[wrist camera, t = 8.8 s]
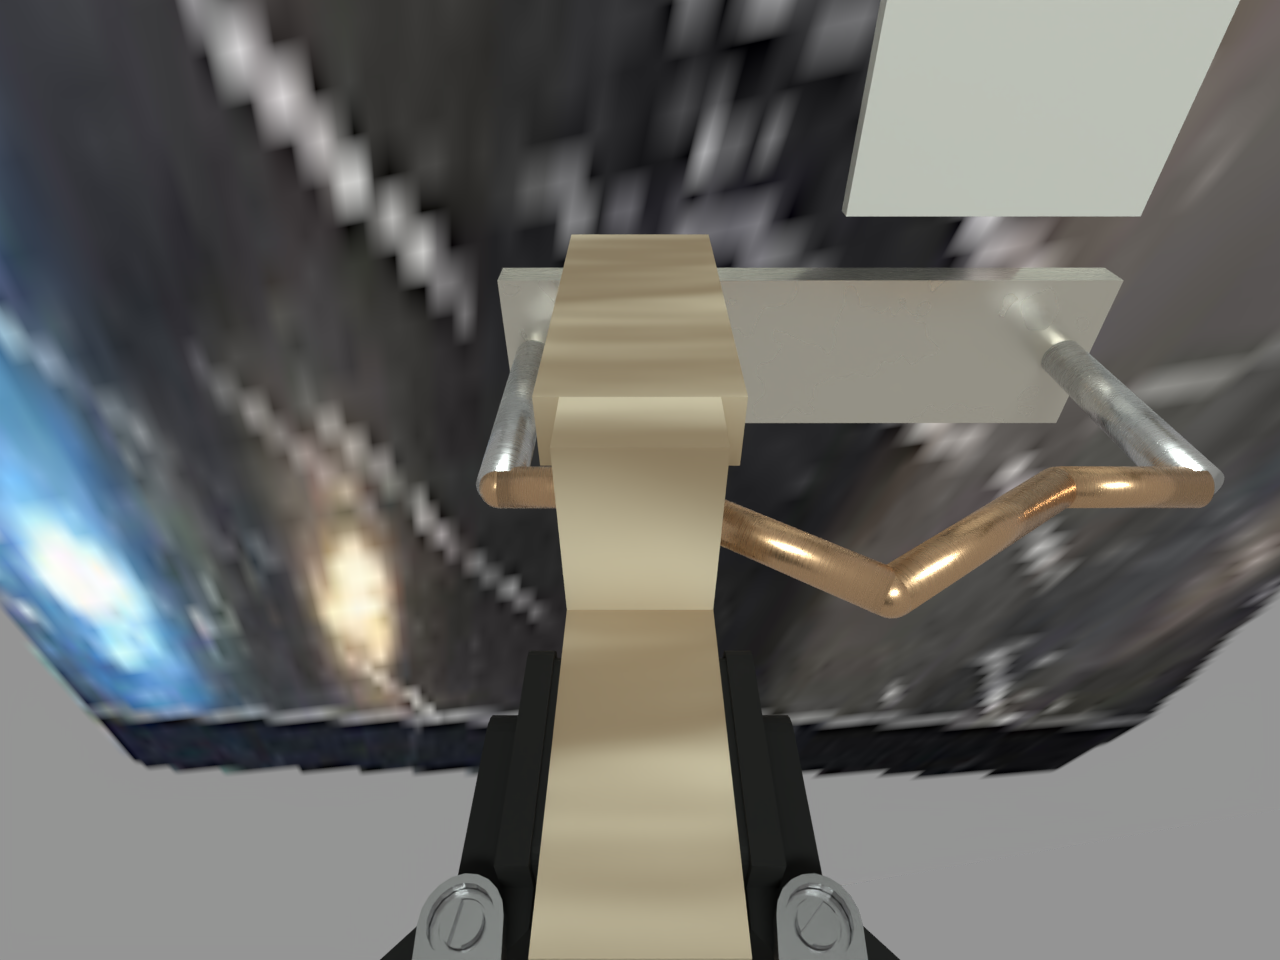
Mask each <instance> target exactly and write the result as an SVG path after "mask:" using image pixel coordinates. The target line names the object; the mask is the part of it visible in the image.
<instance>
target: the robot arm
mask: <svg viewBox="0 0 1280 960" xmlns="http://www.w3.org/2000/svg"><path fill="white" fill-rule="evenodd" d="M561 659H562V658H557V652H556V651H529V653H528V656H527V662H526V668H525V674H524V680H523V687H522V693H521V699H520V705H519V712H518V715H492V716H491V718H490V720H489V723H488V726H487V730H486V735H485V740H484V745H483V750H482V755H481V761H480V766H479V771H478V776H477V781H476V786H475V791H474V796H473V801H472V806H471V811H470V816H469V821H468V826H467V832H466V837H465V842H464V847H463V852H462V857H461V862H460V867H459V872H458V875H457V876H454V877H451V878H450V879H448V880H446V881H445V882H443V883H441V884H440V885H439V886H438V887H437V888H436V889H435V890H434V891H433V892H432V893H431V894H430V895H429V897H428V899H427V900H426V902H425V904H424V906H423V907H422V909H421V912H420V916H419V919H418V923H417V926H416V927H415V928H414V929H413V930H412V931H411V932H410V933H409V934H408V935H406V936H405V937H404V938H403V939H402V940H401V941H400V942H399V943H398V944H397V945H396V946H394V947H393V948H392V949H391V950H390V951H389V952H388V953H387V954H386V955H385V956H383V957H382V958H381V959H380V960H529V959H528V956H529V947H530V938H531V929H532V920H533V911H534V902H535V893H536V884H537V875H538V866H539V857H540V848H541V839H542V830H543V821H544V812H545V803H546V794H547V785H548V776H549V767H550V758H551V749H552V740H553V731H554V722H555V713H556V704H557V695H558V686H559V677H560V668H561ZM719 666H720V675H721V684H722V693H723V702H724V711H725V720H726V729H727V738H728V747H729V756H730V765H731V774H732V782H733V791H734V800H735V809H736V818H737V827H738V836H739V845H740V854H741V863H742V872H743V881H744V890H745V899H746V908H747V917H748V926H749V935H750V944H751V953H752V960H900V959H899V958H898V957H897V956H896V955H895V954H894V953H892V952H891V951H890V950H889V949H888V948H887V947H886V946H885V945H884V944H882V943H881V942H880V941H879V940H878V939H877V938H876V937H875V936H874V935H873V934H872V933H870V932H869V931H868V930H867V929H866V928H865V927H864V926H863V923H862V919H861V916H860V912H859V909H858V907H857V906H856V904H855V902H854V900H853V899H852V897H851V895H850V894H849V893H848V892H847V891H846V890H845V889H844V888H843V887H842V886H841V885H840V884H839V883H837V882H835V881H834V880H832V879H830V878H829V877H826V876H823V875H822V871H821V866H820V861H819V855H818V850H817V845H816V840H815V835H814V830H813V825H812V820H811V815H810V810H809V805H808V800H807V795H806V790H805V784H804V779H803V774H802V769H801V764H800V759H799V754H798V749H797V744H796V739H795V734H794V729H793V725H792V722H791V719H790V717H789V716H788V715H762V710H761V703H760V697H759V691H758V685H757V678H756V672H755V666H754V660H753V655H752V652H751V651H724V653H723V658H719Z"/></svg>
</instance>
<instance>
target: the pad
mask: <svg viewBox="0 0 1280 960" xmlns="http://www.w3.org/2000/svg"><path fill="white" fill-rule="evenodd" d="M1239 2H1240V0H881V2H880V7H879V12H878V18H877V23H876V29H875V34H874V39H873V45H872V50H871V56H870V61H869V66H868V72H867V77H866V83H865V88H864V93H863V99H862V104H861V110H860V115H859V121H858V126H857V131H856V137H855V142H854V148H853V153H852V158H851V164H850V169H849V175H848V180H847V185H846V191H845V196H844V202H843V207H842V212H843V213H844V215H845V216H1141V214H1142V212H1143V210H1144V208H1145V206H1146V203H1147V201H1148V199H1149V197H1150V195H1151V193H1152V190H1153V188H1154V186H1155V184H1156V182H1157V180H1158V177H1159V175H1160V173H1161V171H1162V169H1163V167H1164V164H1165V162H1166V160H1167V158H1168V156H1169V154H1170V151H1171V149H1172V147H1173V145H1174V143H1175V141H1176V138H1177V136H1178V134H1179V132H1180V130H1181V128H1182V125H1183V123H1184V121H1185V119H1186V117H1187V115H1188V112H1189V110H1190V108H1191V106H1192V104H1193V102H1194V99H1195V97H1196V95H1197V93H1198V91H1199V89H1200V86H1201V84H1202V82H1203V80H1204V78H1205V76H1206V73H1207V71H1208V69H1209V67H1210V65H1211V62H1212V60H1213V58H1214V56H1215V54H1216V52H1217V49H1218V47H1219V45H1220V43H1221V41H1222V39H1223V36H1224V34H1225V32H1226V30H1227V28H1228V26H1229V23H1230V21H1231V19H1232V17H1233V15H1234V13H1235V10H1236V8H1237V6H1238V4H1239Z"/></svg>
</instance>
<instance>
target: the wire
mask: <svg viewBox="0 0 1280 960" xmlns="http://www.w3.org/2000/svg"><path fill="white" fill-rule="evenodd" d="M562 271H563V268H503V269H502V271H501V273H500V276H499V278H498V280H497V281H498V288H499V296H500V303H501V310H502V317H503V324H504V331H505V339H506V346H507V353H508V360H509V367H510V374H509V377H508V380H507V383H506V387H505V390H504V393H503V396H502V400H501V403H500V406H499V409H498V413H497V416H496V419H495V422H494V426H493V429H492V432H491V435H490V439H489V442H488V445H487V448H486V452H485V455H484V458H483V461H482V465H481V468H480V471H479V474H478V477H477V481H476V488H477V491H478V493H479V495H480V496H481V497H482V499H483V500H484V501H485V502H486V503H487V504H488V505H490V506H492V507H495V508H556V501H555V492H554V482H553V473H552V467H530V466H531V461H532V456H533V452H534V447H535V442H536V437H537V434H536V426H535V418H534V409H533V401H532V395H533V391H534V387H535V383H536V379H537V374H538V370H539V366H540V362H541V358H542V354H543V350H544V346H545V341H546V337H547V333H548V329H549V325H550V321H551V317H552V313H553V308H554V304H555V300H556V296H557V292H558V288H559V284H560V280H561V275H562ZM717 271H718V275H719V279H720V284H721V288H722V292H723V296H724V300H725V304H726V308H727V312H728V316H729V321H730V325H731V329H732V333H733V337H734V341H735V345H736V349H737V353H738V357H739V362H740V366H741V370H742V374H743V378H744V382H745V386H746V390H747V394H748V402H747V410H746V419H745V423H1056V422H1057V420H1058V418H1059V416H1060V414H1061V412H1062V410H1063V407H1064V405H1065V403H1066V401H1067V399H1068V397H1069V396H1070V397H1071V398H1072V399H1073V400H1074V401H1075V402H1076V403H1077V404H1078V405H1079V406H1080V407H1081V408H1082V410H1083V411H1084V412H1085V413H1086V414H1087V415H1088V416H1089V417H1090V418H1091V419H1092V420H1093V421H1094V422H1095V423H1096V424H1097V425H1098V426H1099V427H1100V428H1101V429H1102V430H1103V431H1104V432H1105V433H1106V434H1107V435H1108V436H1109V437H1110V438H1111V439H1112V441H1113V442H1114V443H1115V444H1116V445H1117V446H1118V447H1119V448H1120V449H1121V450H1122V451H1123V452H1124V453H1125V454H1126V455H1127V456H1128V457H1129V458H1130V459H1131V460H1132V461H1133V462H1134V463H1135V464H1136V465H1137V466H1057V467H1050V468H1047V469H1045V470H1043V471H1041V472H1040V473H1038V474H1036V475H1035V476H1033V477H1031V478H1030V479H1028V480H1026V481H1025V482H1023V483H1021V484H1020V485H1018V486H1016V487H1015V488H1013V489H1011V490H1010V491H1008V492H1006V493H1005V494H1003V495H1001V496H1000V497H998V498H996V499H995V500H993V501H991V502H990V503H988V504H986V505H985V506H983V507H981V508H980V509H978V510H976V511H975V512H973V513H971V514H970V515H968V516H966V517H965V518H963V519H961V520H960V521H958V522H957V523H955V524H953V525H952V526H950V527H948V528H947V529H945V530H943V531H942V532H940V533H938V534H937V535H935V536H933V537H932V538H930V539H928V540H927V541H925V542H923V543H922V544H920V545H918V546H917V547H915V548H913V549H912V550H910V551H908V552H907V553H905V554H903V555H902V556H900V557H898V558H897V559H895V560H893V561H892V562H890V563H888V564H887V565H886V564H884V563H881V562H879V561H876V560H874V559H871V558H869V557H866V556H864V555H861V554H859V553H856V552H854V551H851V550H849V549H847V548H844V547H842V546H839V545H837V544H834V543H832V542H829V541H827V540H824V539H822V538H819V537H817V536H814V535H812V534H809V533H807V532H804V531H802V530H800V529H797V528H795V527H792V526H790V525H787V524H785V523H782V522H780V521H777V520H775V519H772V518H770V517H767V516H765V515H762V514H760V513H758V512H755V511H753V510H750V509H748V508H745V507H743V506H740V505H738V504H735V503H733V502H730V501H728V500H725V503H724V513H723V522H722V532H721V541H720V546H722V547H724V548H727V549H729V550H731V551H734V552H736V553H738V554H740V555H743V556H745V557H747V558H749V559H752V560H754V561H756V562H759V563H761V564H763V565H765V566H768V567H770V568H772V569H774V570H777V571H779V572H781V573H784V574H786V575H788V576H790V577H793V578H795V579H797V580H799V581H802V582H804V583H806V584H809V585H811V586H813V587H815V588H818V589H820V590H822V591H824V592H827V593H829V594H831V595H834V596H836V597H838V598H840V599H843V600H845V601H847V602H849V603H852V604H854V605H856V606H858V607H861V608H863V609H865V610H868V611H870V612H872V613H874V614H877V615H879V616H881V617H884V618H890V619H891V618H892V619H893V618H899V617H902V616H904V615H906V614H908V613H909V612H911V611H912V610H914V609H915V608H917V607H918V606H920V605H921V604H923V603H924V602H926V601H927V600H929V599H930V598H932V597H933V596H935V595H936V594H938V593H939V592H941V591H942V590H944V589H945V588H947V587H948V586H950V585H951V584H953V583H954V582H956V581H957V580H959V579H960V578H962V577H963V576H965V575H966V574H968V573H969V572H971V571H972V570H974V569H975V568H977V567H978V566H980V565H981V564H983V563H985V562H986V561H988V560H989V559H991V558H992V557H994V556H995V555H997V554H998V553H1000V552H1001V551H1003V550H1004V549H1006V548H1007V547H1009V546H1010V545H1012V544H1013V543H1015V542H1016V541H1018V540H1019V539H1021V538H1022V537H1024V536H1025V535H1027V534H1028V533H1030V532H1031V531H1033V530H1034V529H1036V528H1037V527H1039V526H1040V525H1042V524H1043V523H1045V522H1046V521H1048V520H1049V519H1051V518H1052V517H1054V516H1055V515H1057V514H1058V513H1060V512H1061V511H1063V510H1064V509H1066V508H1201V507H1204V506H1206V505H1207V504H1208V503H1209V502H1210V501H1211V499H1212V497H1213V495H1214V494H1215V493H1216V492H1217V491H1218V490H1219V489H1220V488H1221V486H1222V485H1223V482H1224V474H1223V473H1222V472H1221V471H1220V470H1219V469H1218V468H1217V467H1216V466H1215V465H1214V464H1212V463H1211V462H1210V461H1209V460H1208V459H1207V458H1206V457H1205V456H1204V455H1202V454H1201V453H1200V452H1199V451H1198V450H1197V449H1196V448H1195V447H1193V446H1192V445H1191V444H1190V443H1189V442H1188V441H1187V440H1186V439H1184V438H1183V437H1182V436H1181V435H1180V434H1179V433H1178V432H1177V431H1176V430H1174V429H1173V428H1172V427H1171V426H1170V425H1169V424H1168V423H1167V422H1165V421H1164V420H1163V419H1162V418H1161V417H1160V416H1159V415H1158V414H1156V413H1155V412H1154V411H1153V410H1152V409H1151V408H1150V407H1149V406H1148V405H1146V404H1145V403H1144V402H1143V401H1142V400H1141V399H1140V398H1139V397H1137V396H1136V395H1135V394H1134V393H1133V392H1132V391H1131V390H1130V389H1128V388H1127V387H1126V386H1125V385H1124V384H1123V383H1122V382H1121V381H1120V380H1118V379H1117V378H1116V377H1115V376H1114V375H1113V374H1112V373H1111V372H1109V371H1108V370H1107V369H1106V368H1105V367H1104V366H1103V365H1102V364H1100V363H1099V362H1098V361H1097V360H1096V359H1095V358H1094V357H1093V356H1092V355H1090V354H1089V353H1090V350H1091V348H1092V346H1093V344H1094V342H1095V340H1096V338H1097V336H1098V334H1099V331H1100V329H1101V327H1102V325H1103V323H1104V321H1105V319H1106V317H1107V315H1108V312H1109V310H1110V308H1111V306H1112V304H1113V302H1114V300H1115V298H1116V295H1117V293H1118V291H1119V289H1120V287H1121V285H1122V283H1123V281H1124V280H1122V279H1121V278H1119V277H1118V276H1116V275H1115V274H1113V273H1112V272H1110V271H1109V270H1107V269H1106V268H717Z"/></svg>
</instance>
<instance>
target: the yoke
mask: <svg viewBox="0 0 1280 960" xmlns="http://www.w3.org/2000/svg"><path fill="white" fill-rule="evenodd" d="M532 401H533V409H534V418H535V426H536V434H537V443H538V451H539V460H540V466H552V473H553V482H554V492H555V501H556V511H557V520H558V530H559V539H560V549H561V558H562V568H563V577H564V587H565V596H566V606H567V614H566V623H565V632H564V641H563V650H562V659H561V668H560V677H559V686H558V695H557V704H556V713H555V722H554V731H553V740H552V749H551V758H550V767H549V776H548V785H547V794H546V803H545V812H544V821H543V830H542V839H541V848H540V857H539V866H538V875H537V884H536V893H535V902H534V911H533V920H532V929H531V938H530V947H529V956H528V959H529V960H752V953H751V944H750V935H749V926H748V917H747V908H746V899H745V890H744V881H743V872H742V863H741V854H740V845H739V836H738V827H737V818H736V809H735V800H734V791H733V782H732V774H731V765H730V756H729V747H728V738H727V729H726V720H725V711H724V702H723V693H722V684H721V675H720V666H719V657H718V648H717V639H716V630H715V621H714V612H713V607H714V598H715V588H716V579H717V569H718V560H719V550H720V541H721V532H722V522H723V513H724V503H725V494H726V484H727V475H728V466H740V461H741V452H742V444H743V436H744V427H745V419H746V410H747V402H748V394H747V390H746V386H745V382H744V378H743V374H742V370H741V366H740V362H739V357H738V353H737V349H736V345H735V341H734V337H733V333H732V329H731V325H730V321H729V316H728V312H727V308H726V304H725V300H724V296H723V292H722V288H721V284H720V279H719V275H718V271H717V267H716V263H715V259H714V255H713V251H712V247H711V243H710V238H709V234H571V238H570V243H569V247H568V251H567V255H566V259H565V263H564V267H563V271H562V275H561V280H560V284H559V288H558V292H557V296H556V300H555V304H554V308H553V313H552V317H551V321H550V325H549V329H548V333H547V337H546V341H545V346H544V350H543V354H542V358H541V362H540V366H539V370H538V374H537V379H536V383H535V387H534V391H533V395H532Z"/></svg>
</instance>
